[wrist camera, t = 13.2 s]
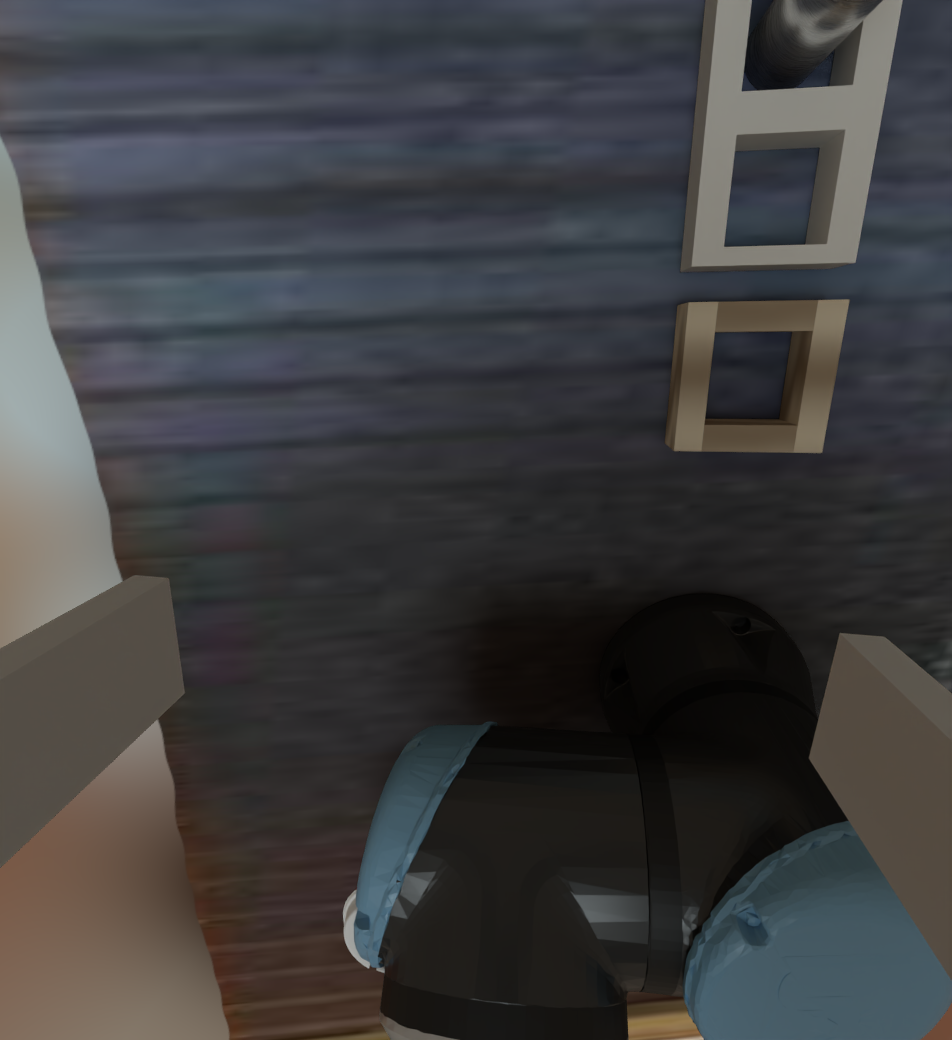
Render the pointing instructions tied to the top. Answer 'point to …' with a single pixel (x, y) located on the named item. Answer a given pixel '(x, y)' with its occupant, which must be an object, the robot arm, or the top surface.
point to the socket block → (805, 376)
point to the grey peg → (799, 39)
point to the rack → (785, 140)
